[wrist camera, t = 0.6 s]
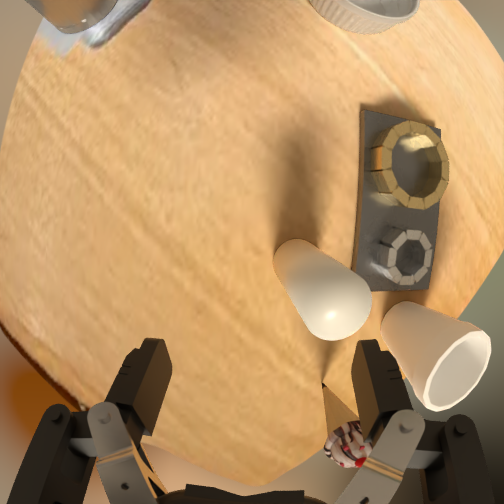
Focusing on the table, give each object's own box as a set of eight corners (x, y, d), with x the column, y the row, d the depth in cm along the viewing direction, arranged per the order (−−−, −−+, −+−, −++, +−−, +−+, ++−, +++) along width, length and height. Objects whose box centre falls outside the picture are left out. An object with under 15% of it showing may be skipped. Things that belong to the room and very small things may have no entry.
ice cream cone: (350, 380, 36) (398, 458, 22) (316, 405, 37) (351, 488, 22) (327, 357, 35) (376, 439, 20) (291, 384, 35) (322, 474, 21)
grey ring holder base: (359, 112, 29) (374, 104, 26) (435, 130, 30) (453, 126, 27) (348, 288, 33) (361, 299, 30) (423, 286, 34) (439, 295, 31)
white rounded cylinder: (274, 238, 31) (306, 271, 19) (320, 239, 32) (376, 271, 19) (271, 284, 32) (299, 342, 20) (316, 284, 33) (365, 338, 20)
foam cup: (408, 359, 37) (459, 411, 24) (358, 349, 35) (406, 411, 23) (438, 298, 35) (502, 337, 22) (390, 280, 34) (457, 322, 21)
